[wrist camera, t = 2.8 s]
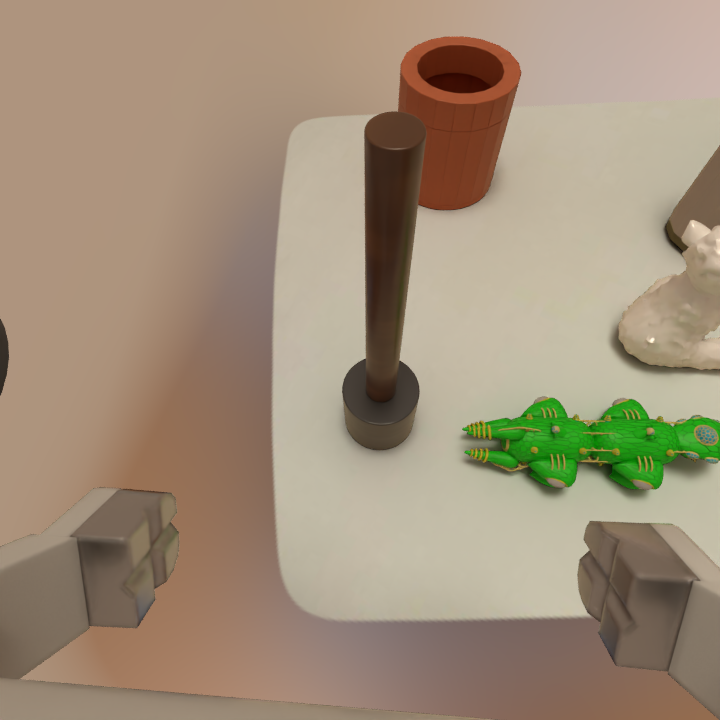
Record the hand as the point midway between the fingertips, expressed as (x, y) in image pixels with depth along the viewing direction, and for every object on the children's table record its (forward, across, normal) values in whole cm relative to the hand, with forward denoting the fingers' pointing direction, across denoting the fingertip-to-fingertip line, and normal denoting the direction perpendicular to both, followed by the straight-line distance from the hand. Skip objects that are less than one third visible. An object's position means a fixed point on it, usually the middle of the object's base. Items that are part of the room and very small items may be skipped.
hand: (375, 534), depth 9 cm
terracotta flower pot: (+45, -5, -12) cm, 47 cm away
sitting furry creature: (+31, -23, +2) cm, 39 cm away
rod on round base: (+25, 0, +8) cm, 27 cm away
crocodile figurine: (+24, -15, +9) cm, 30 cm away
